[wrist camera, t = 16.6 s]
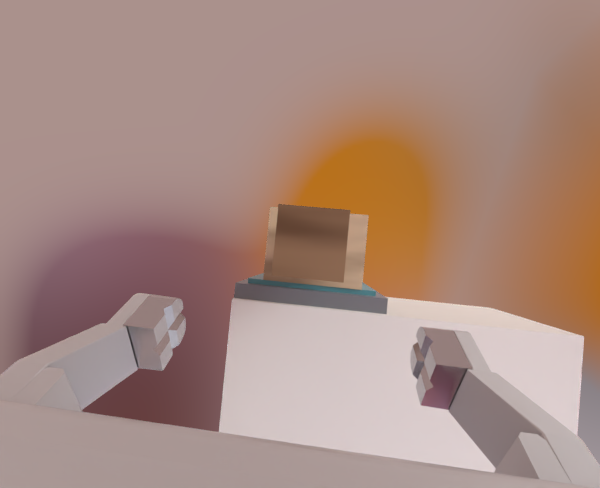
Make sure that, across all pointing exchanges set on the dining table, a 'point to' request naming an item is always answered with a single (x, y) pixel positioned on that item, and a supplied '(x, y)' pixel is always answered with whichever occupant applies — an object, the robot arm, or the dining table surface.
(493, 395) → the robot arm
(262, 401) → the white block
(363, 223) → the stamp
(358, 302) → the pad
